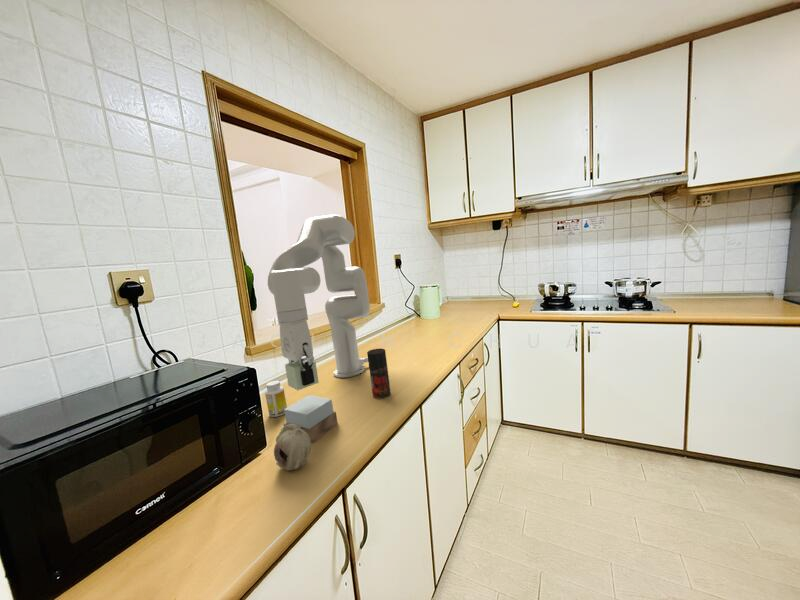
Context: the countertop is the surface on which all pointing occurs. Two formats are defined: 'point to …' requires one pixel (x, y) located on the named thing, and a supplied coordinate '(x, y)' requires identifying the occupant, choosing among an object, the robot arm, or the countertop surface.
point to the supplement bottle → (275, 399)
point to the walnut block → (320, 427)
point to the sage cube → (298, 375)
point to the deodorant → (379, 373)
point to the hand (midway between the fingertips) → (303, 380)
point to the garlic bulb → (292, 447)
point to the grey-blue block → (308, 411)
